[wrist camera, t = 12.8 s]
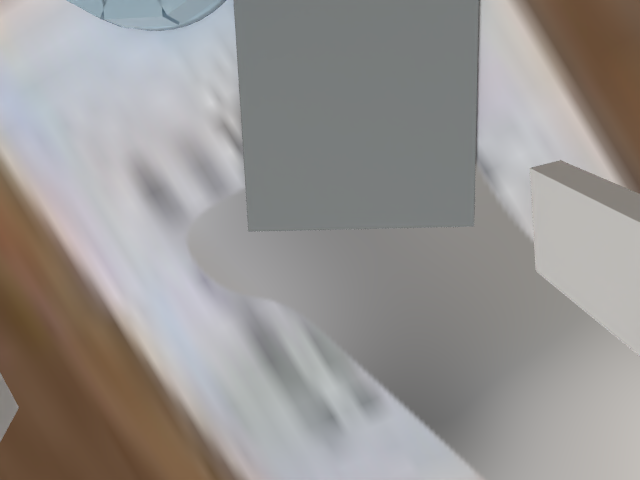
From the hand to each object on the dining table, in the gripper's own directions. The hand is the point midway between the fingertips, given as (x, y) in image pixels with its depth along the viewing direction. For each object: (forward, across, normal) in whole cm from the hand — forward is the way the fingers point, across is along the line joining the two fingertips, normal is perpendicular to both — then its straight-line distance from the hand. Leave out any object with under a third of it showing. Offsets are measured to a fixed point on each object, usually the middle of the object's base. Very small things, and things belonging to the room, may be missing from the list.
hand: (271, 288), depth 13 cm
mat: (+17, +6, 0) cm, 18 cm away
